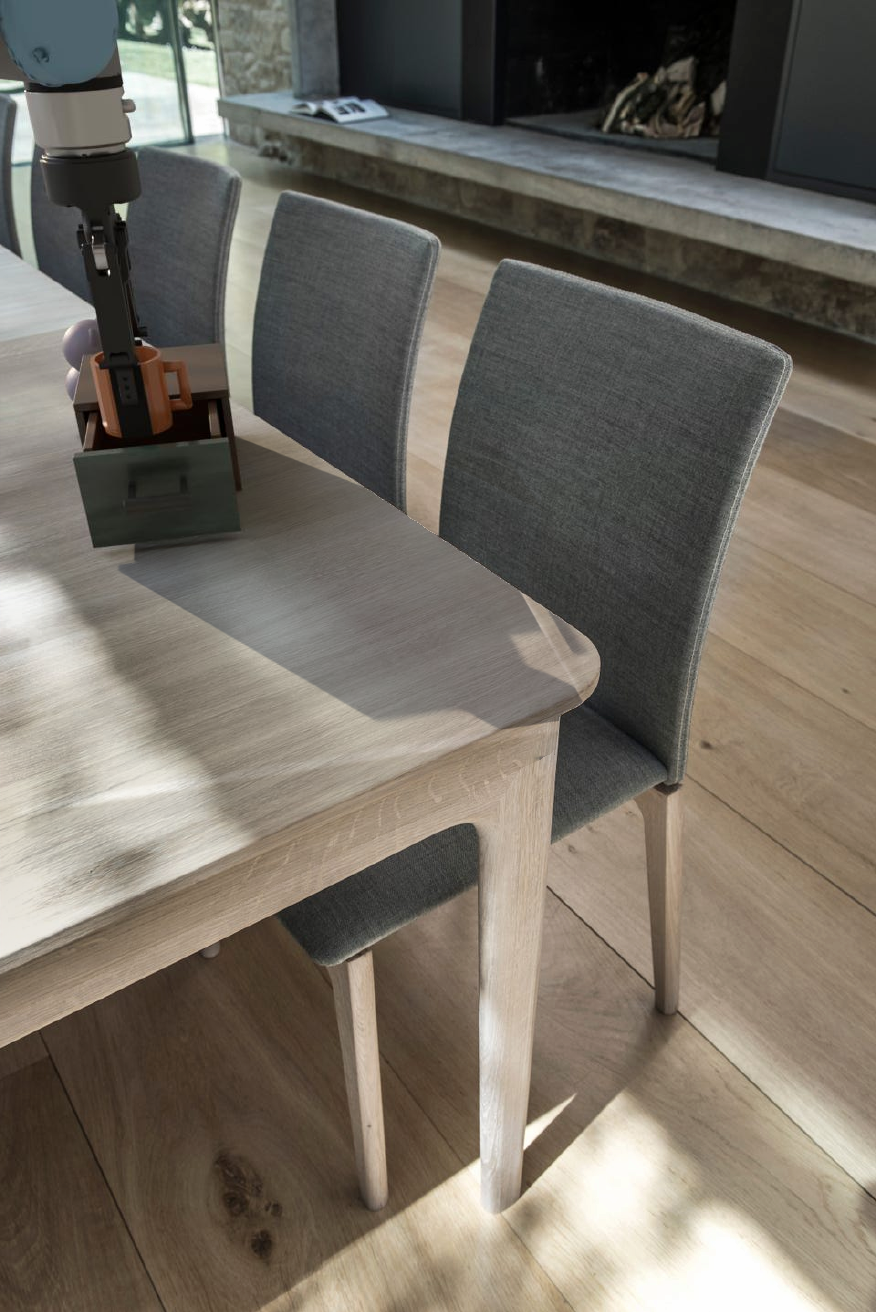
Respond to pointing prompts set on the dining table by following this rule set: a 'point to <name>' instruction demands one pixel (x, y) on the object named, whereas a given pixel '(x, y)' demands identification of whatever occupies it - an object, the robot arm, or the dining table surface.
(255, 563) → the dining table surface
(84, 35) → the robot arm
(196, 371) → the cabinet
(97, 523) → the drawer
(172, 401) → the mug
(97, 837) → the dining table surface
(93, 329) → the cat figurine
